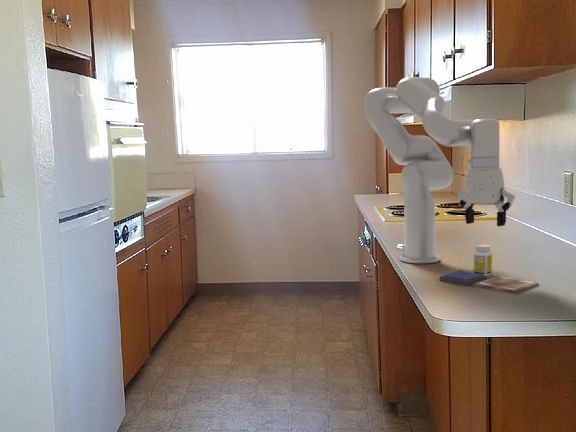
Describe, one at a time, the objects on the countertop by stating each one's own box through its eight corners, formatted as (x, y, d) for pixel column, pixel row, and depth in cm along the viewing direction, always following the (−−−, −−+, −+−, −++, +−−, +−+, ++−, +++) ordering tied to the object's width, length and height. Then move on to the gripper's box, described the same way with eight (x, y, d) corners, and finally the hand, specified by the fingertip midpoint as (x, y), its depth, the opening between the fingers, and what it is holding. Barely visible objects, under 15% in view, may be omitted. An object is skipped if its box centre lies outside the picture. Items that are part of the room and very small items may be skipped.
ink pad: (439, 280, 168) (439, 275, 168) (458, 275, 174) (458, 269, 173) (468, 286, 161) (468, 280, 161) (486, 280, 167) (486, 274, 167)
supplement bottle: (488, 272, 176) (488, 243, 175) (494, 276, 172) (494, 246, 170) (471, 272, 176) (472, 244, 175) (477, 276, 171) (477, 247, 170)
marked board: (473, 285, 162) (473, 283, 162) (496, 277, 170) (496, 275, 169) (515, 293, 153) (515, 291, 153) (538, 285, 161) (538, 282, 160)
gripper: (450, 164, 174) (451, 223, 175) (507, 164, 161) (506, 228, 163) (465, 163, 178) (465, 221, 180) (521, 162, 165) (520, 225, 167)
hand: (485, 224), depth 171 cm, fingers open, 9 cm apart
